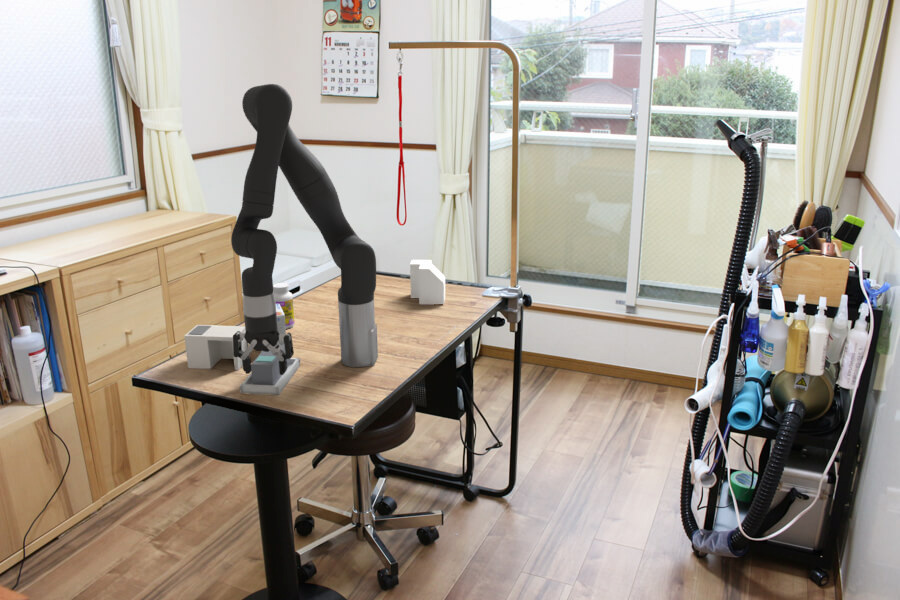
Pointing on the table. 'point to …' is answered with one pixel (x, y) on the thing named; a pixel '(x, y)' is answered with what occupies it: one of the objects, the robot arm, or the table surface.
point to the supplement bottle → (285, 302)
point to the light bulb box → (280, 321)
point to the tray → (271, 389)
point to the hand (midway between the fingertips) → (265, 373)
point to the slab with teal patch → (266, 369)
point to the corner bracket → (427, 282)
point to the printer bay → (212, 345)
